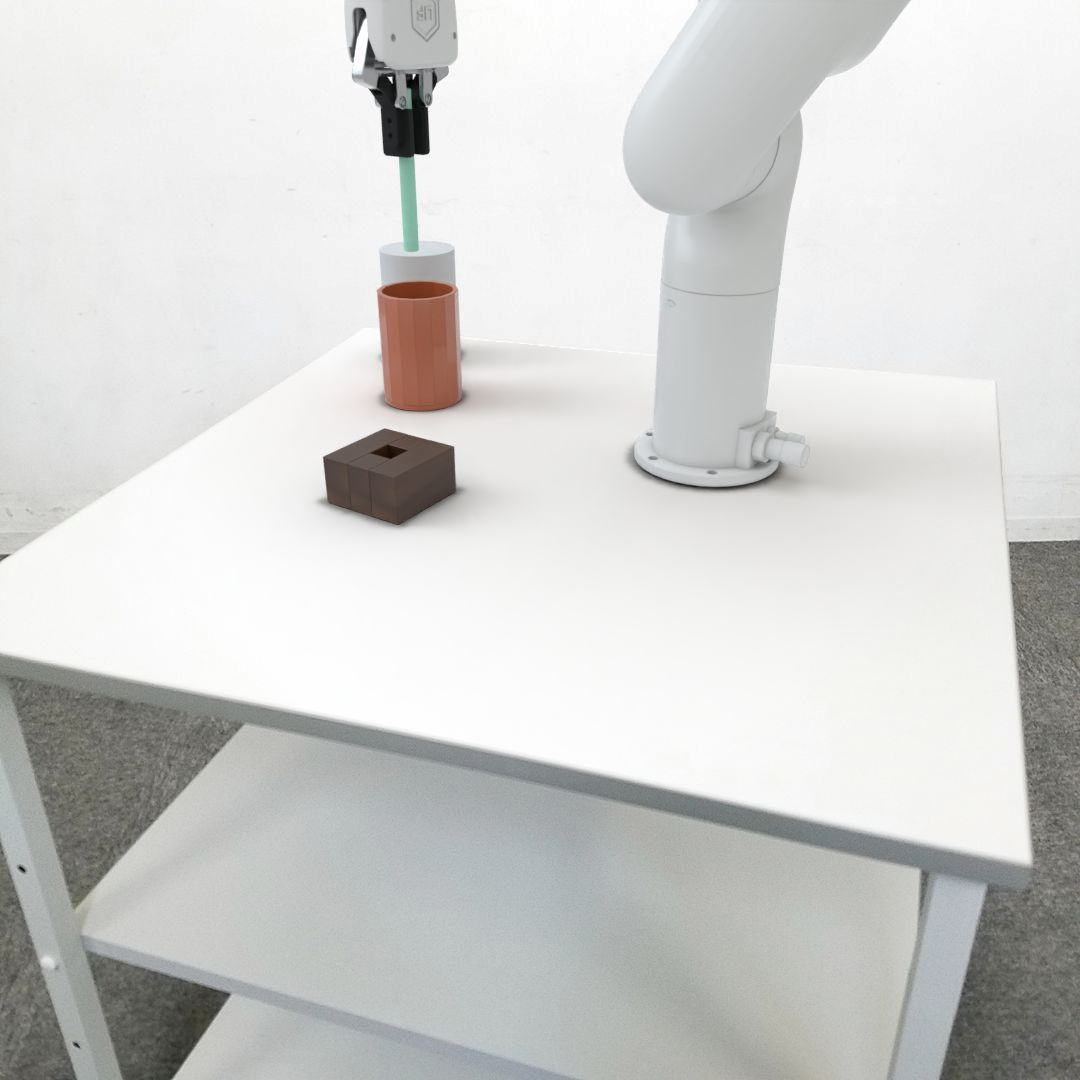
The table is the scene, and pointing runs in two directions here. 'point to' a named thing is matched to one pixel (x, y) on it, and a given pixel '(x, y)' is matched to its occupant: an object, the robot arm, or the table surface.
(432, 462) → the holder
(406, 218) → the straw
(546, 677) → the table surface
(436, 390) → the tumbler
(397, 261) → the light grey cylinder
